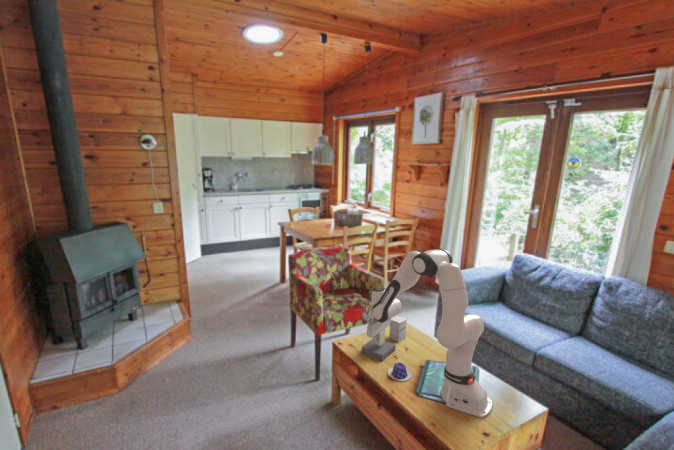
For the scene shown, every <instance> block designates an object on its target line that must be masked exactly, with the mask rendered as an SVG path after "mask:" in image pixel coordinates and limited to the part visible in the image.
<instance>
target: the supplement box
mask: <svg viewBox="0 0 674 450" xmlns="http://www.w3.org/2000/svg"><path fill="white" fill-rule="evenodd" d="M389 338H390V339H391V340H393V341H396V342H397V343H400V342H401V341H402V340H406V338H407V319H406V318H404V317H401V316H399V315H396V316H394V317H392V318H391V324H390V325H389Z"/></svg>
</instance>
